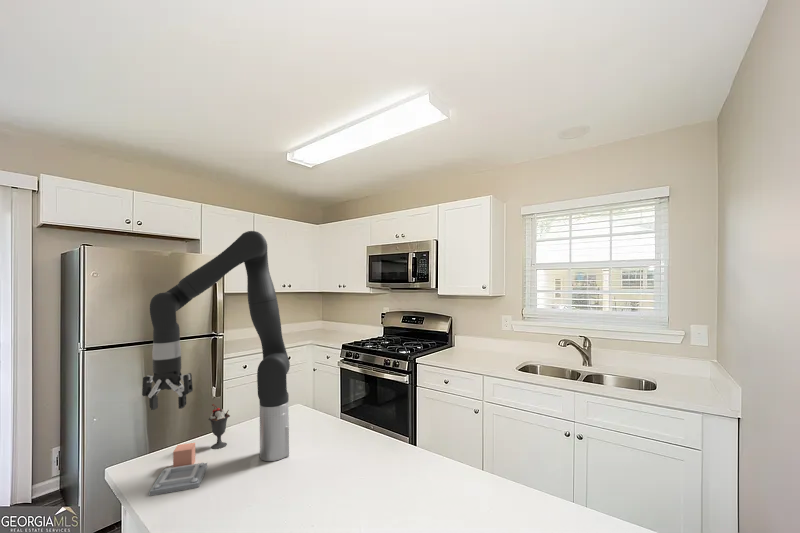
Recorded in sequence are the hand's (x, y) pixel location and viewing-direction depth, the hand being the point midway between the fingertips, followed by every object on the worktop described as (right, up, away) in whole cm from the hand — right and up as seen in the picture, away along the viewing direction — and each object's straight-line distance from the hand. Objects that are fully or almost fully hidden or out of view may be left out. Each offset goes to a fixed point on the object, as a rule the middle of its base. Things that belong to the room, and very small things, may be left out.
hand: (168, 408), depth 113 cm
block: (+4, -19, +2) cm, 20 cm away
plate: (+8, -19, -6) cm, 21 cm away
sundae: (+8, -20, +16) cm, 26 cm away
